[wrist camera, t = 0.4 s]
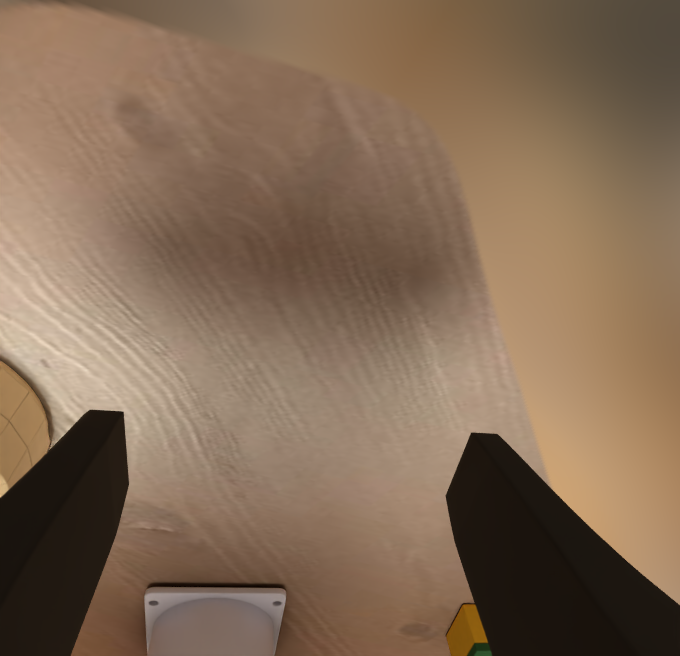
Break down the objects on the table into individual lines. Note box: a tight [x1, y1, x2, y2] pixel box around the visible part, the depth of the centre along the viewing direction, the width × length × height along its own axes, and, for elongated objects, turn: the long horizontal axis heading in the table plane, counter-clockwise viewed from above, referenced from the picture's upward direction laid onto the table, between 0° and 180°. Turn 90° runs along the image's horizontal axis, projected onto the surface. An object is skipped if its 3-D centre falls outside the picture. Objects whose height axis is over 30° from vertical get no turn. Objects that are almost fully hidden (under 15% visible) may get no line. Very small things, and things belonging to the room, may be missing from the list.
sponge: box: [446, 604, 492, 656], centre depth 33 cm, size 4×3×3 cm, turn 170°
